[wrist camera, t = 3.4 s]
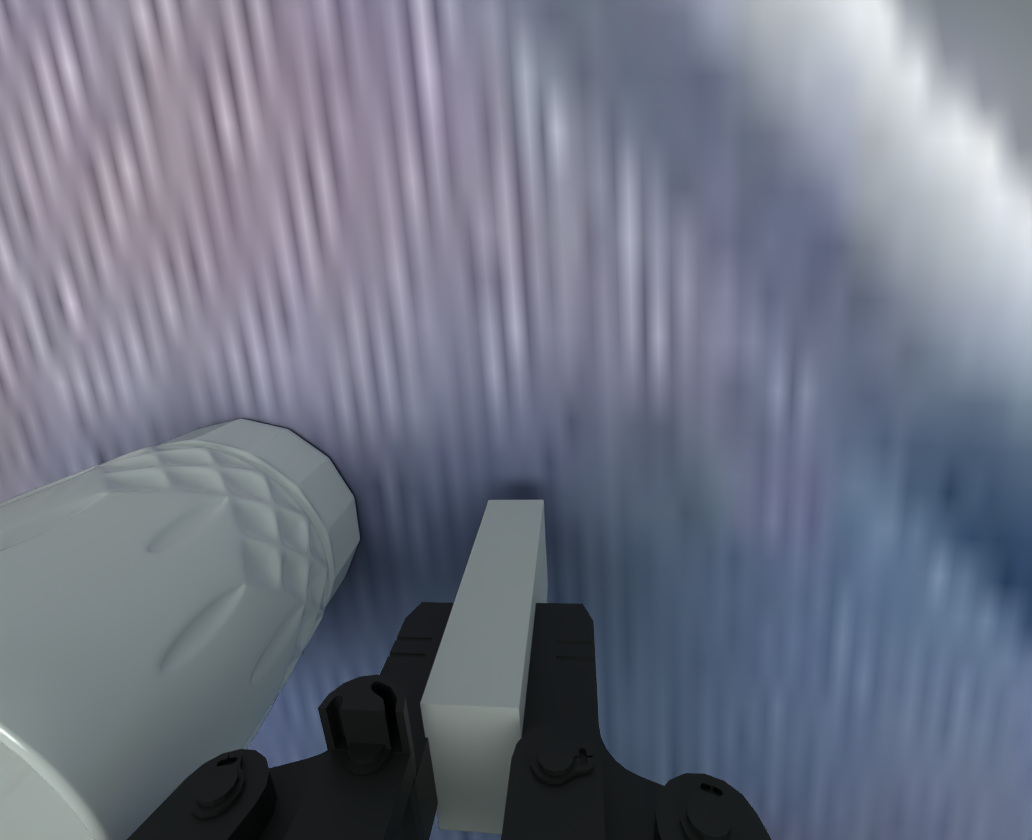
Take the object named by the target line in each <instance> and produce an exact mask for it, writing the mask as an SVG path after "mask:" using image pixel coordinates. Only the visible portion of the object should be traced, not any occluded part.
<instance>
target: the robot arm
mask: <svg viewBox="0 0 1032 840" xmlns="http://www.w3.org/2000/svg"><path fill="white" fill-rule="evenodd" d="M547 590H548V579H547V558H546V538H545V517H544V500H488V503H487V506H486V509H485V512H484V515H483V518H482V521H481V524H480V527H479V530H478V533H477V536H476V539H475V542H474V545H473V548H472V551H471V554H470V557H469V560H468V563H467V566H466V569H465V572H464V575H463V578H462V581H461V584H460V587H459V590H458V593H457V596H456V599H455V602H454V603H432V602H422V603H421V604H420V605H419V606H418V607H417V608H416V609H415V610H414V611H412V612H411V613H410V614H409V615H408V616H407V617H406V618H405V621H404V623H403V625H402V627H401V630H400V632H399V634H398V636H397V641H395V643H394V645H393V647H392V649H391V652H390V657H388V658H387V660H386V663H385V665H384V667H383V669H382V671H381V674H380V675H370V676H362V677H358V678H356V679H353V680H351V681H348V682H346V683H343V684H342V685H341V686H339V687H338V688H337V689H335V690H334V691H333V692H331V693H330V694H329V695H328V696H327V697H326V699H325V700H324V701H323V702H322V704H321V705H320V706H319V708H318V710H319V714H320V719H321V723H322V727H323V731H324V735H325V740H326V744H327V748H328V750H327V751H325V752H324V753H322V754H319V755H317V756H314V757H311V758H308V759H304V760H301V761H297V762H293V763H289V764H285V765H281V766H277V767H273V768H269V767H268V764H267V761H266V758H265V757H264V756H263V755H261V754H260V753H258V752H257V751H256V750H247V749H238V750H234V751H230V752H226V753H222V754H221V755H219V756H217V757H215V758H213V759H211V760H209V761H207V762H206V763H204V764H203V765H201V766H200V767H199V768H198V769H197V770H195V771H194V772H193V773H192V774H191V775H189V776H188V777H187V778H186V779H185V780H184V781H183V782H182V783H181V784H180V785H179V786H178V787H177V788H176V789H175V790H174V791H173V792H172V793H171V794H170V795H169V796H168V798H167V799H166V800H165V801H164V802H163V803H162V804H161V805H160V806H159V807H158V808H157V809H156V810H155V811H154V812H153V813H152V814H151V815H150V816H149V817H148V818H147V819H146V820H145V821H144V822H143V823H142V824H141V825H140V826H139V827H138V828H137V830H136V831H135V832H134V833H133V834H132V835H131V836H130V837H129V838H128V839H127V840H429V838H430V833H431V829H432V825H433V821H434V817H435V813H436V809H437V816H438V822H439V829H440V830H453V831H467V832H480V833H493V834H502V837H501V840H771V838H770V836H769V835H768V833H767V831H766V829H765V827H764V826H763V824H762V822H761V820H760V818H759V817H758V815H757V813H756V812H755V811H754V809H753V808H752V807H751V805H750V804H749V803H748V801H747V800H746V799H745V798H744V796H743V795H742V794H741V793H739V792H738V791H737V790H735V789H734V788H733V787H731V786H730V785H729V784H727V783H726V782H725V781H722V780H720V779H717V778H714V777H712V776H709V775H706V774H691V773H685V774H683V775H680V776H678V777H676V778H673V779H671V780H669V781H668V783H667V784H666V785H665V786H663V785H660V784H658V783H655V782H653V781H650V780H647V779H645V778H642V777H640V776H638V775H636V774H634V773H632V772H630V771H628V770H626V769H625V768H624V767H623V766H621V765H620V764H619V763H618V762H617V761H615V760H614V758H613V757H612V756H611V755H610V753H609V752H608V751H607V750H606V747H605V745H604V743H603V741H602V739H601V735H600V730H599V722H598V703H597V683H596V664H595V645H594V626H593V620H592V618H591V617H590V615H589V613H588V612H587V610H586V609H585V607H584V606H583V604H560V603H547Z"/></svg>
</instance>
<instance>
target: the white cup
mask: <svg viewBox="0 0 1032 840" xmlns="http://www.w3.org/2000/svg"><path fill="white" fill-rule="evenodd" d="M359 541H360V533H359V526H358V519H357V512H356V505H355V498H354V496H353V494H352V493H351V491H350V490H349V488H348V486H347V485H346V483H345V482H344V480H343V479H342V477H341V476H340V474H339V473H338V471H337V469H336V468H335V466H334V465H333V463H332V462H331V460H330V459H329V458H328V457H327V456H326V455H324V454H323V453H322V452H320V451H319V450H317V449H316V448H315V447H313V446H312V445H310V444H309V443H307V442H306V441H305V440H303V439H302V438H300V437H299V436H297V435H296V434H295V433H293V432H292V431H290V430H289V429H286V428H281V427H277V426H272V425H268V424H264V423H259V422H255V421H251V420H246V419H236V420H232V421H228V422H224V423H219V424H215V425H211V426H207V427H202V428H198V429H196V430H193V431H191V432H188V433H186V434H184V435H181V436H179V437H176V438H174V439H172V440H169V441H167V442H165V443H162V444H160V445H158V446H151V447H146V448H143V449H139V450H136V451H134V452H131V453H128V454H125V455H123V456H120V457H117V458H115V459H112V460H110V461H108V462H105V463H103V464H99V465H96V466H94V467H91V468H89V469H86V470H83V471H80V472H77V473H74V474H71V475H69V476H66V477H63V478H61V479H58V480H55V481H53V482H50V483H48V484H45V485H43V486H40V487H38V488H35V489H33V490H30V491H28V492H25V493H23V494H20V495H18V496H15V497H13V498H10V499H8V500H5V501H3V502H0V840H127V839H128V838H129V837H130V836H131V835H132V834H133V833H134V832H135V831H136V830H137V828H138V827H139V826H140V825H141V824H142V823H143V822H144V821H145V820H146V819H147V818H148V817H149V816H150V815H151V814H152V813H153V812H154V811H155V810H156V809H157V808H158V807H159V806H160V805H161V804H162V803H163V802H164V801H165V800H166V799H167V798H168V796H169V795H170V794H171V793H172V792H173V791H174V790H175V789H176V788H177V787H178V786H179V785H180V784H181V783H182V782H183V781H184V780H185V779H186V778H187V777H188V776H189V775H191V774H192V773H193V772H194V771H195V770H197V769H198V768H199V767H200V766H201V765H203V764H204V763H206V762H207V761H209V760H211V759H213V758H215V757H217V756H219V755H221V754H222V753H226V752H230V751H234V750H238V749H248V747H249V745H250V744H251V742H252V740H253V739H254V737H255V735H256V734H257V732H258V730H259V729H260V727H261V726H262V724H263V722H264V720H265V719H266V717H267V715H268V714H269V712H270V710H271V709H272V707H273V705H274V703H275V700H276V698H277V697H278V695H279V693H280V692H281V690H282V688H283V687H284V685H285V683H286V682H287V680H288V678H289V676H290V675H291V673H292V671H293V669H294V667H295V666H296V664H297V662H298V660H299V658H300V656H301V655H302V654H303V651H304V650H305V648H306V646H307V645H308V643H309V641H310V640H311V638H312V636H313V635H314V633H315V631H316V629H317V627H318V625H319V624H320V622H321V620H322V618H323V615H324V612H325V608H326V606H327V605H328V603H329V602H330V600H331V598H332V597H333V595H334V594H335V592H336V590H337V589H338V587H339V586H340V584H341V582H342V581H343V579H344V578H345V576H346V574H347V571H348V569H349V566H350V564H351V561H352V559H353V556H354V554H355V551H356V549H357V546H358V543H359Z"/></svg>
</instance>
